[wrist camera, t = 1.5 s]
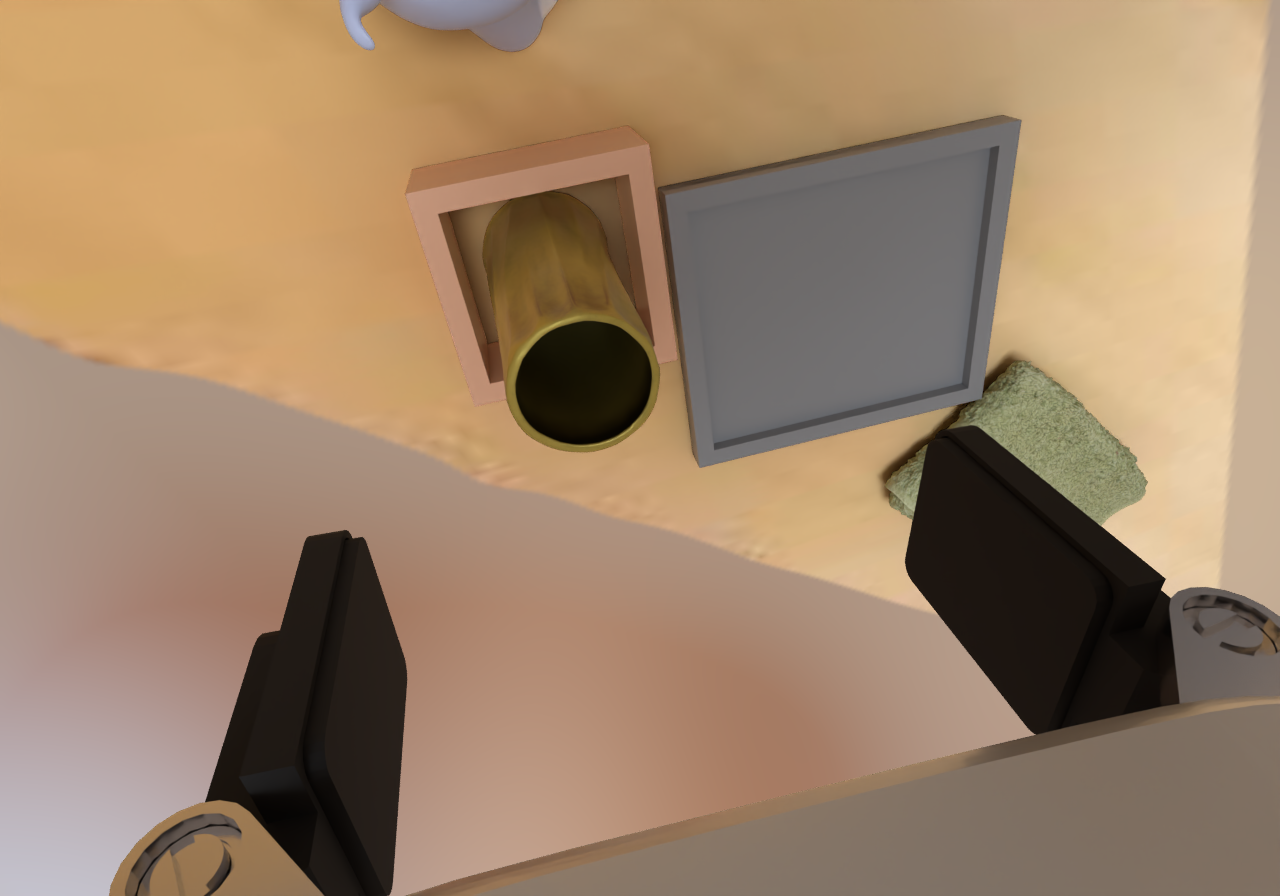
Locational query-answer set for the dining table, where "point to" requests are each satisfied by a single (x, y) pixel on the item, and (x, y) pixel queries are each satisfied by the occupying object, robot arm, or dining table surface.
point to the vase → (566, 326)
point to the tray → (838, 286)
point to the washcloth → (1043, 445)
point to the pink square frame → (526, 175)
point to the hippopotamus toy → (459, 18)
